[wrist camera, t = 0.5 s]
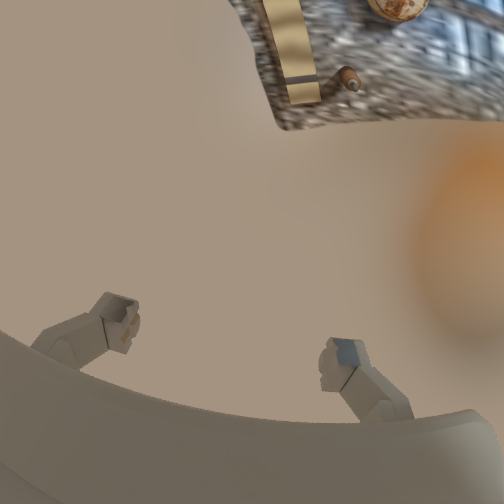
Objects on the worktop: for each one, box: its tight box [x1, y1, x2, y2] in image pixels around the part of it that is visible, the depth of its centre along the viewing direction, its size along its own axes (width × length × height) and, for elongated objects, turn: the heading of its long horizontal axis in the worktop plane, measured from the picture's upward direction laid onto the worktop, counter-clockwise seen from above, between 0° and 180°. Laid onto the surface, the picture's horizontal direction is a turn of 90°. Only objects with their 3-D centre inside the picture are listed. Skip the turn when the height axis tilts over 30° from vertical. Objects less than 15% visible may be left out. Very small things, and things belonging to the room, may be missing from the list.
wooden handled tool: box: [340, 66, 361, 92], centre depth 39 cm, size 3×3×12 cm
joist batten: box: [263, 0, 321, 104], centre depth 38 cm, size 30×6×2 cm, turn 15°
